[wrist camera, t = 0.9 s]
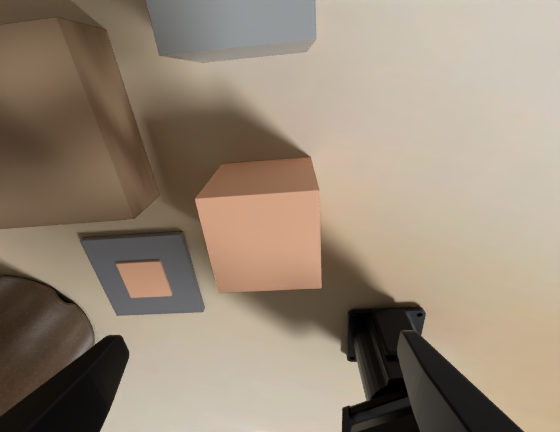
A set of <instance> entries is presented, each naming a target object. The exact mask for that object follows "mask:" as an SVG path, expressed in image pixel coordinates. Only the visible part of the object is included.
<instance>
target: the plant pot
mask: <svg viewBox="0 0 560 432" xmlns="http://www.w3.org/2000/svg"><path fill="white" fill-rule="evenodd" d="M93 346H94V332H93V328H92V326H91V323H90V322H89V320H88V318H87V316H86V315H85V314H84V312H83V311H82V310H81V309H80V308H79V307H78V306H77V305H76V304H74V303H65V302H64V301H62V300H61V299H60V298H59V297H58V296H57V294H56V291H55V290H54V289H52V288H50V287H48V286H45V285H43V284H40V283H37V282H34V281H31V280H27V279H23V278H19V277H12V276H0V416H1V415H2V414H4V413H5V412H6V411H8V410H9V409H10V408H12V407H13V406H14V405H16V404H17V403H18V402H20V401H21V400H22V399H23V398H25V397H26V396H27V395H29V394H30V393H31V392H33V391H34V390H35V389H37V388H38V387H39V386H41V385H42V384H43V383H45V382H46V381H47V380H49V379H50V378H51V377H53V376H54V375H55V374H57V373H58V372H59V371H61V370H62V369H63V368H65V367H66V366H67V365H69V364H70V363H71V362H73V361H74V360H75V359H77V358H78V357H79V356H81V355H82V354H83V353H85V352H86V351H87V350H89V349H90V348H91V347H93Z"/></svg>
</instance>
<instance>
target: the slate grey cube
mask: <svg viewBox="0 0 560 432" xmlns="http://www.w3.org/2000/svg"><path fill="white" fill-rule="evenodd" d="M146 4H147V8H148V12H149V16H150V20H151V24H152V28H153V32H154V36H155V40H156V44H157V48H158V52H159V56H165V57H171V58H177V59H183V60H189V61H195V62H201V63H205V62H215V61H225V60H234V59H244V58H254V57H263V56H273V55H282V54H292V53H302V52H307V51H308V50H309V48H310V47H311V46H312V44H313V43H314V41H315V40H316V6H315V0H146Z"/></svg>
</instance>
